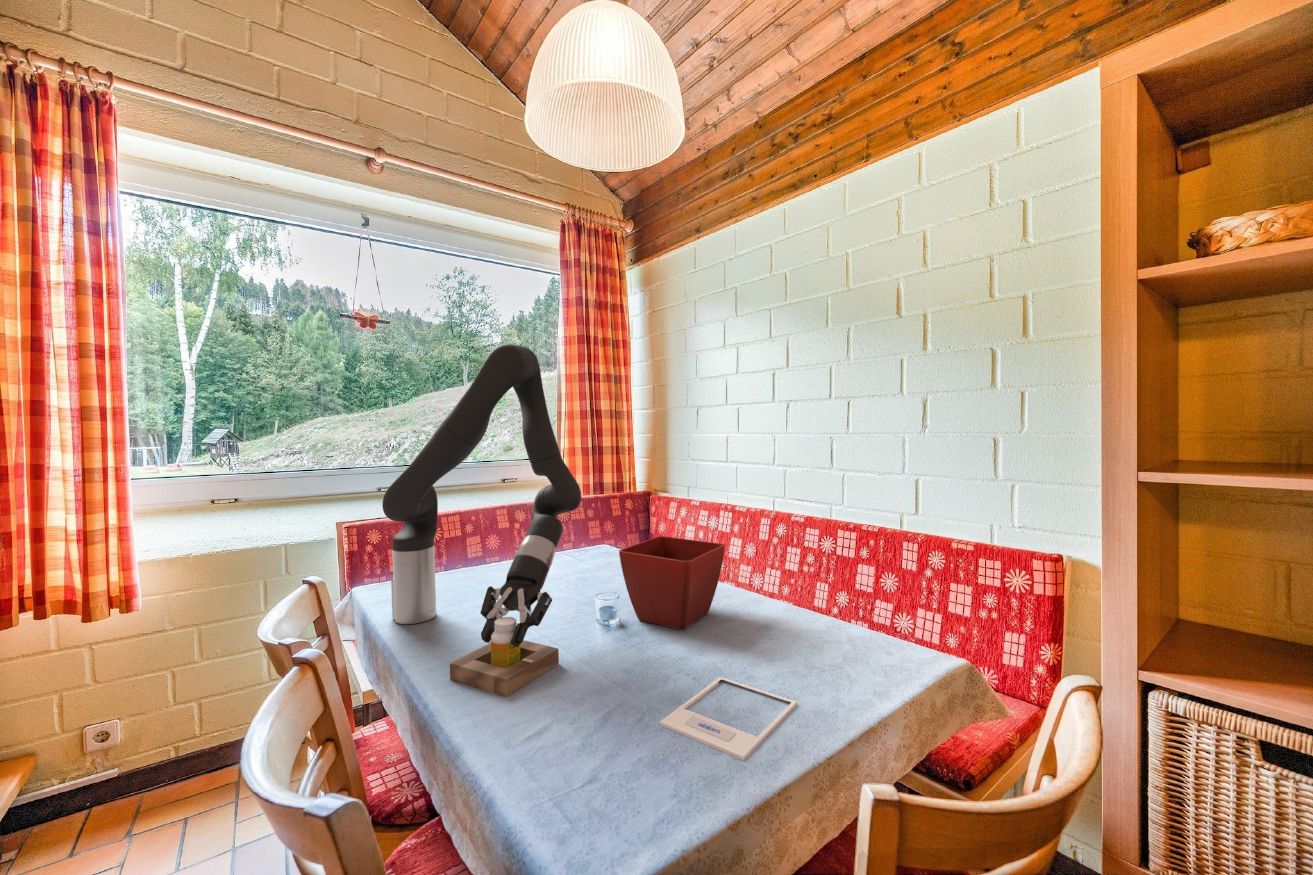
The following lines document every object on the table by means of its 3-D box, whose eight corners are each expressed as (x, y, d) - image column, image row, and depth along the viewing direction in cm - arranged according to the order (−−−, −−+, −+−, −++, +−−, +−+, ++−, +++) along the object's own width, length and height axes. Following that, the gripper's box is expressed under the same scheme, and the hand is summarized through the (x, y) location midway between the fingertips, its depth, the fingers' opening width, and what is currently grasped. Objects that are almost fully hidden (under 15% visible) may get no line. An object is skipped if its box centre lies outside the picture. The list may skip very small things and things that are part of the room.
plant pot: (727, 611, 132) (726, 543, 131) (689, 639, 116) (688, 561, 115) (661, 598, 142) (660, 535, 141) (617, 622, 126) (616, 550, 125)
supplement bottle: (512, 679, 99) (512, 627, 99) (485, 676, 100) (485, 624, 100) (525, 665, 105) (525, 616, 104) (499, 663, 106) (499, 614, 105)
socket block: (450, 679, 100) (449, 661, 99) (505, 649, 112) (504, 634, 112) (506, 696, 93) (506, 678, 93) (558, 663, 105) (558, 647, 105)
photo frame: (659, 720, 84) (720, 675, 98) (659, 727, 84) (720, 681, 98) (743, 755, 75) (796, 700, 89) (743, 763, 75) (796, 707, 89)
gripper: (494, 550, 111) (457, 630, 100) (556, 555, 106) (525, 639, 96) (509, 569, 116) (476, 646, 105) (569, 574, 112) (541, 655, 101)
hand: (499, 642), depth 101 cm, fingers open, 5 cm apart
